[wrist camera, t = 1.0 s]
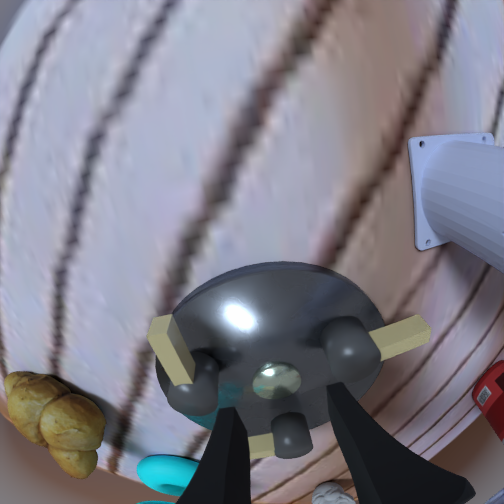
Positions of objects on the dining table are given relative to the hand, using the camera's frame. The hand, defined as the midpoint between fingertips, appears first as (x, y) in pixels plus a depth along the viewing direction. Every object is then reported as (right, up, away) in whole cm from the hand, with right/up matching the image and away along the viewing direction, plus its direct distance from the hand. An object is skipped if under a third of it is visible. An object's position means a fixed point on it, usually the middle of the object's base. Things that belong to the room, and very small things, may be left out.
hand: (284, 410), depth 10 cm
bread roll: (-22, -9, +12) cm, 27 cm away
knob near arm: (+7, +1, +8) cm, 11 cm away
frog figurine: (+11, -30, +23) cm, 40 cm away
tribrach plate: (0, -2, +11) cm, 11 cm away
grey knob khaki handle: (0, -9, +12) cm, 15 cm away
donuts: (-11, -21, +18) cm, 30 cm away
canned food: (+34, -12, +18) cm, 40 cm away
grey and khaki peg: (-6, 0, +8) cm, 10 cm away
